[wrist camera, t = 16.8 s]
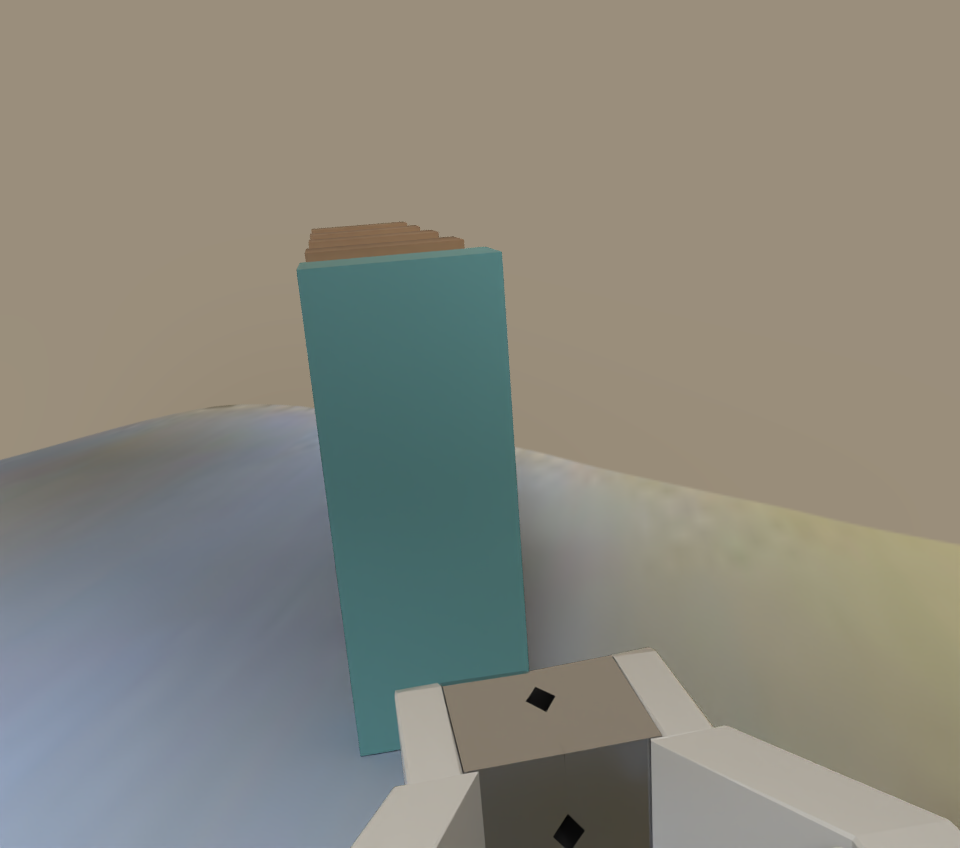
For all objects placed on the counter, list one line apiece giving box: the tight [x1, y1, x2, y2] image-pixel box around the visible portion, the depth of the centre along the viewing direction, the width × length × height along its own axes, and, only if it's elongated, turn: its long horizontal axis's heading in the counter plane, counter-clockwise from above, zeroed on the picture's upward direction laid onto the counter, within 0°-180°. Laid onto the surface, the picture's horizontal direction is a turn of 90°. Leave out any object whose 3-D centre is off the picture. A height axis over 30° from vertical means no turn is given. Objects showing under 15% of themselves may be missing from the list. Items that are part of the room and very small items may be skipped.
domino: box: [297, 247, 529, 756], centre depth 20 cm, size 2×4×12 cm, turn 100°
